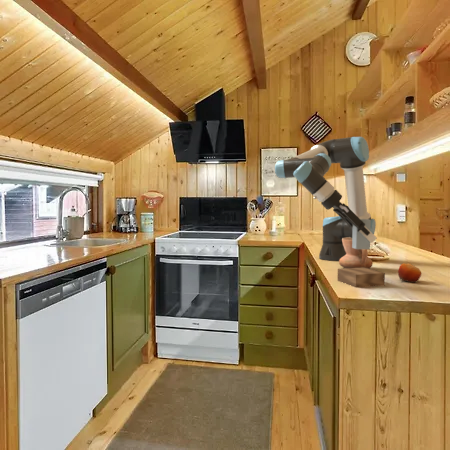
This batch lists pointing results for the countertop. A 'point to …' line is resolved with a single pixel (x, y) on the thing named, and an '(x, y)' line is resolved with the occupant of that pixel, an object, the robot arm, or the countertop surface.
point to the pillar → (361, 236)
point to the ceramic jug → (354, 256)
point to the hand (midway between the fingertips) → (371, 239)
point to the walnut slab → (361, 277)
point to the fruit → (409, 273)
